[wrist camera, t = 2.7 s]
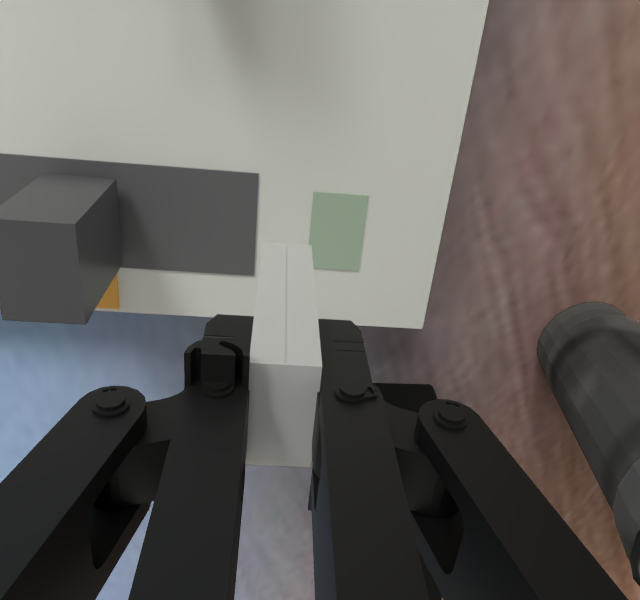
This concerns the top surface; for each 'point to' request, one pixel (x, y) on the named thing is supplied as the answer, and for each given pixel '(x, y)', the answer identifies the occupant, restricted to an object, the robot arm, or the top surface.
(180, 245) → the breaker panel
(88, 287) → the block
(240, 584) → the top surface
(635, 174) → the top surface
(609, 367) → the beverage cup
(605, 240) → the top surface
